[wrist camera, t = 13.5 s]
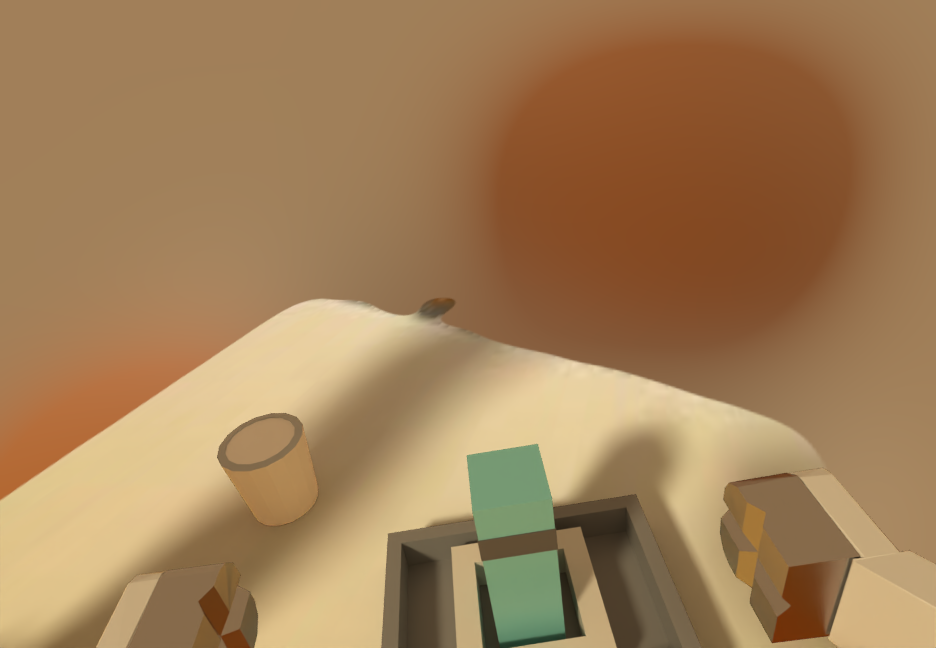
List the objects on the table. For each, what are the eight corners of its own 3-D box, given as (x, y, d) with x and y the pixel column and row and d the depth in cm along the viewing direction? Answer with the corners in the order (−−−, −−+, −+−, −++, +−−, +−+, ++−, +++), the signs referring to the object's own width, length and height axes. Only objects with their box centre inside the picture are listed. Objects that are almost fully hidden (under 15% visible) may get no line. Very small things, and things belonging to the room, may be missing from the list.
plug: (501, 658, 35) (471, 512, 28) (493, 597, 39) (465, 454, 32) (567, 647, 35) (553, 499, 28) (554, 587, 38) (538, 443, 32)
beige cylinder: (278, 465, 54) (253, 407, 50) (340, 477, 51) (318, 416, 48) (229, 523, 48) (197, 463, 45) (296, 539, 46) (268, 477, 42)
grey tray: (388, 762, 32) (376, 736, 30) (396, 560, 43) (388, 533, 41) (712, 712, 31) (717, 683, 30) (635, 522, 43) (635, 494, 41)
